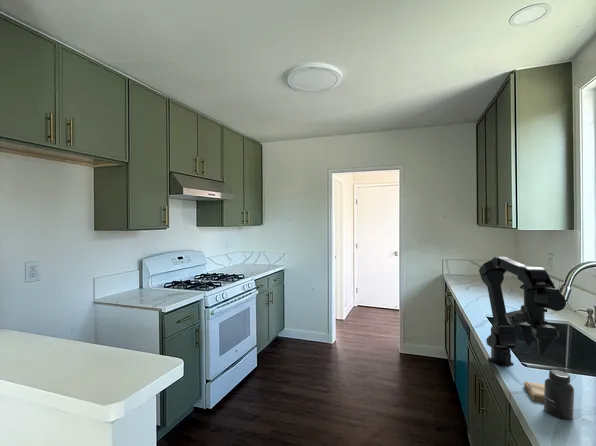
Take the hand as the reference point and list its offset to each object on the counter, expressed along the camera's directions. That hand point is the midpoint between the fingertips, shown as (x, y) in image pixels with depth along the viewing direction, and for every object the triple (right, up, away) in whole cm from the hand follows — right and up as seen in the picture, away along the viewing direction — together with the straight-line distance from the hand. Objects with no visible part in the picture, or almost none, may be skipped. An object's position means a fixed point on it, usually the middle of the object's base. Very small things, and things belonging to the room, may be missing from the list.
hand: (534, 350), depth 110 cm
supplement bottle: (-4, -13, -15) cm, 20 cm away
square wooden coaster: (-1, -13, -6) cm, 14 cm away
